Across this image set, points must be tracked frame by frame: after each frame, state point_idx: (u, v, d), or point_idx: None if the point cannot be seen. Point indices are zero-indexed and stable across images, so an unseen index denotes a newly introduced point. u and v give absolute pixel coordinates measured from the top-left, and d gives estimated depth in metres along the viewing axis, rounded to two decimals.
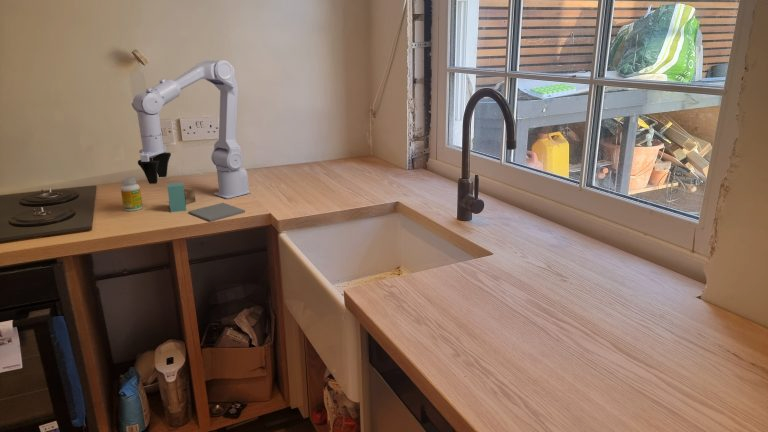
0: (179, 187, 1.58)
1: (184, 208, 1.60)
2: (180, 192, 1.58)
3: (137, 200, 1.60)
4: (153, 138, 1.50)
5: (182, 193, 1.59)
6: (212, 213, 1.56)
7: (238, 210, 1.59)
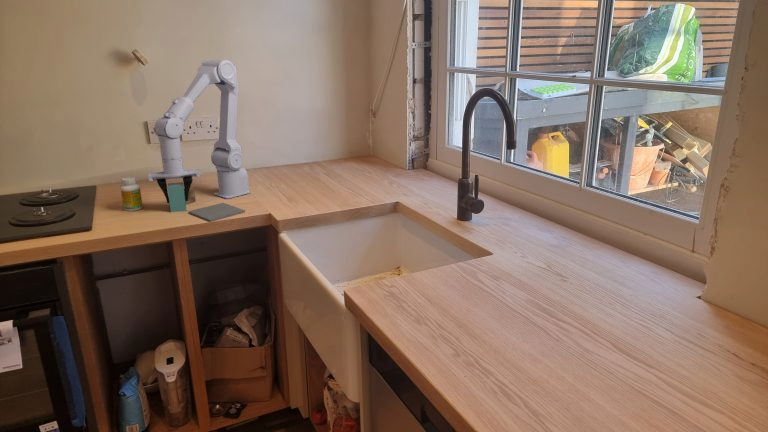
0: (179, 187, 1.58)
1: (184, 208, 1.60)
2: (181, 191, 1.58)
3: (137, 200, 1.60)
4: (163, 161, 1.55)
5: (182, 193, 1.59)
6: (212, 213, 1.56)
7: (238, 210, 1.59)
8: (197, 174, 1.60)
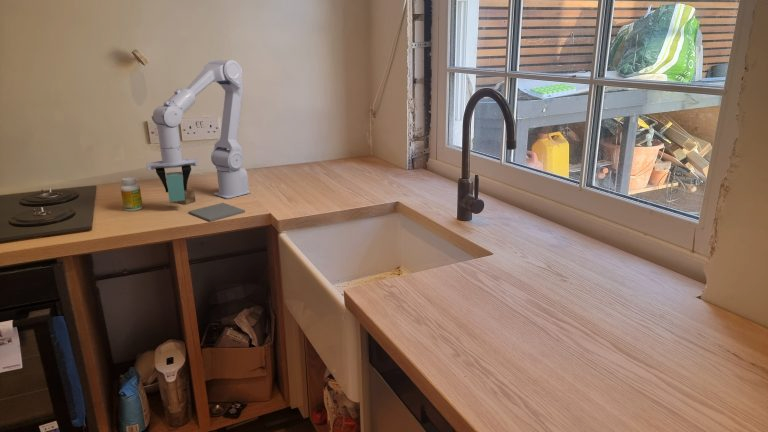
0: (178, 176, 1.57)
1: (183, 198, 1.59)
2: (179, 181, 1.57)
3: (137, 200, 1.60)
4: (162, 150, 1.53)
5: (181, 182, 1.58)
6: (212, 213, 1.56)
7: (238, 210, 1.59)
8: (196, 163, 1.59)
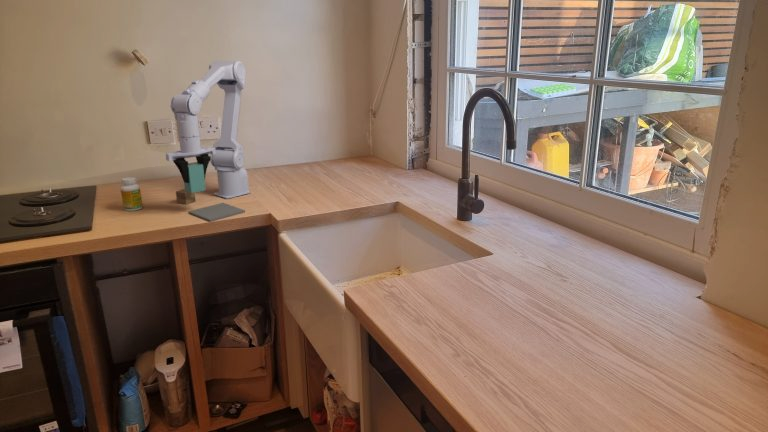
0: (199, 166, 1.55)
1: (204, 188, 1.58)
2: (200, 171, 1.56)
3: (137, 200, 1.60)
4: (183, 139, 1.50)
5: (202, 172, 1.56)
6: (212, 213, 1.56)
7: (238, 210, 1.59)
8: (213, 151, 1.58)
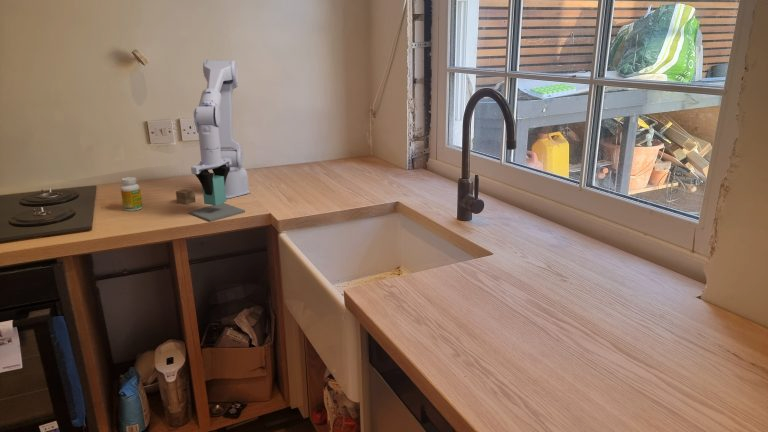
0: (221, 178, 1.55)
1: (224, 199, 1.58)
2: (222, 183, 1.56)
3: (137, 200, 1.60)
4: (208, 151, 1.50)
5: (223, 184, 1.56)
6: (212, 213, 1.56)
7: (238, 210, 1.59)
8: (230, 162, 1.59)
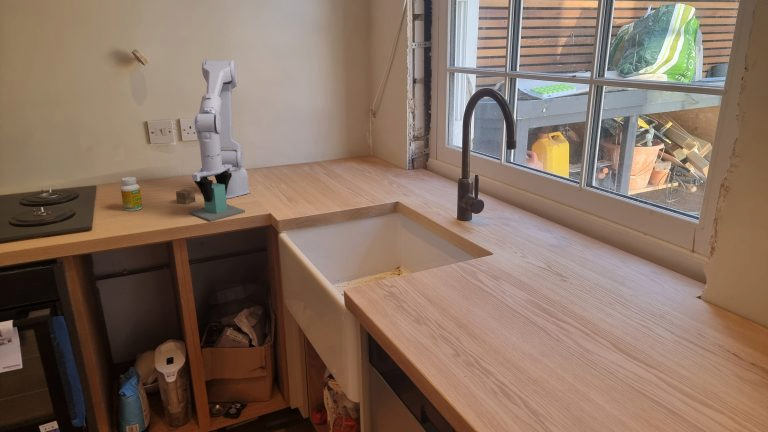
0: (222, 186, 1.56)
1: (225, 207, 1.59)
2: (223, 191, 1.57)
3: (137, 200, 1.60)
4: (208, 158, 1.50)
5: (224, 192, 1.57)
6: (212, 213, 1.56)
7: (238, 210, 1.59)
8: (230, 168, 1.60)
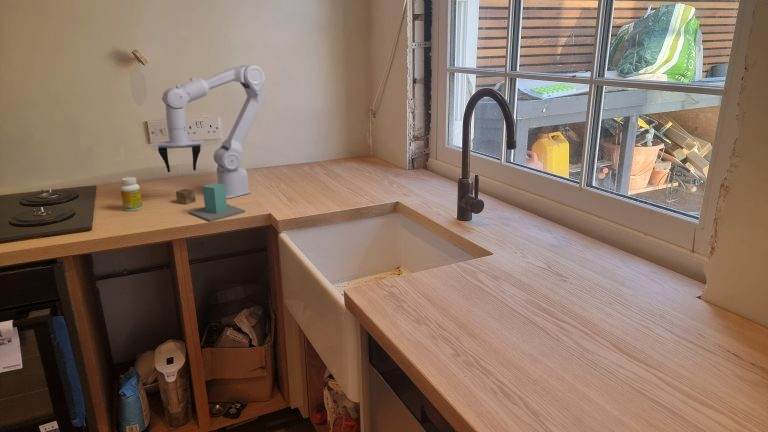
0: (222, 186, 1.56)
1: (225, 207, 1.59)
2: (223, 191, 1.57)
3: (137, 200, 1.60)
4: (169, 130, 1.60)
5: (224, 192, 1.57)
6: (212, 213, 1.56)
7: (238, 210, 1.59)
8: (201, 145, 1.65)
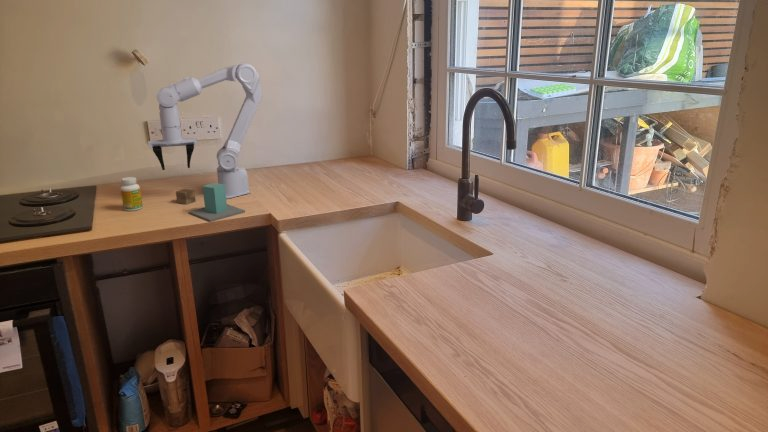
0: (222, 186, 1.56)
1: (225, 207, 1.59)
2: (223, 191, 1.57)
3: (137, 200, 1.60)
4: (162, 129, 1.63)
5: (224, 192, 1.57)
6: (212, 213, 1.56)
7: (238, 210, 1.59)
8: (195, 143, 1.68)
